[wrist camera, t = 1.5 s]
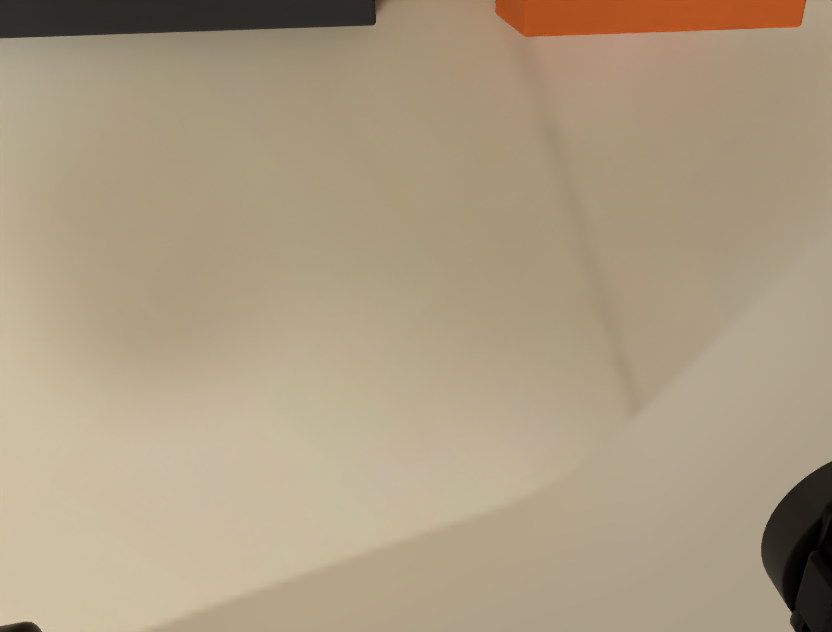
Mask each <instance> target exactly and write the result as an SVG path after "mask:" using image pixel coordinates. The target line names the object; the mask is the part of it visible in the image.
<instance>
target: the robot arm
mask: <svg viewBox="0 0 832 632" xmlns="http://www.w3.org/2000/svg"><path fill="white" fill-rule="evenodd" d="M790 624H791V626H792V627H793V629H794V631H795V632H832V500H831V501H829V502H828V503H827V504H826V505H825V507H824V508H823V511H822V514H821V518H820V521H819V524H818V528H817V531H816V534H815V538H814V541H813V544H812V548H811V551H810V554H809V558H808V561H807V564H806V568H805V571H804V574H803V578H802V581H801V584H800V588H799V591H798V594H797V598H796V601H795V605H794V608H793V611H792V615H791V618H790ZM0 632H42V631H41V630H40V628H39V627H38V626H37V625H35V624H34V623H32V622H21V623H15V624H10V625H4V626H0Z"/></svg>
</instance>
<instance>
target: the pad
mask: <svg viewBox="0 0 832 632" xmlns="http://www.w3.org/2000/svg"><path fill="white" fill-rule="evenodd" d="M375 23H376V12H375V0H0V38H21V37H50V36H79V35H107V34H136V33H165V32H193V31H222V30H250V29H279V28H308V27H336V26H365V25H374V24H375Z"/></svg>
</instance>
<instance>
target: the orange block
mask: <svg viewBox="0 0 832 632" xmlns="http://www.w3.org/2000/svg"><path fill="white" fill-rule="evenodd" d="M805 4H806V0H496V14H497V15H499V16H500V17H501V18H502V19H504V20H505V21H506V22H507V23H509V24H510V25H511V26H512V27H514V28H515V29H516V30H517V31H519V32H520V33H521V34H522V35H524V36H526V37H534V36H562V35H590V34H617V33H645V32H673V31H700V30H728V29H756V28H783V27H798V26H800V25H801V23H802V18H803V13H804V8H805Z"/></svg>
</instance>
